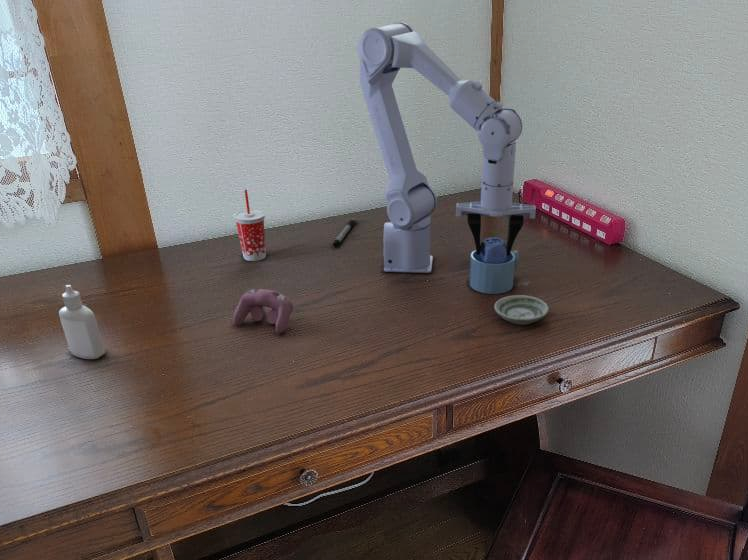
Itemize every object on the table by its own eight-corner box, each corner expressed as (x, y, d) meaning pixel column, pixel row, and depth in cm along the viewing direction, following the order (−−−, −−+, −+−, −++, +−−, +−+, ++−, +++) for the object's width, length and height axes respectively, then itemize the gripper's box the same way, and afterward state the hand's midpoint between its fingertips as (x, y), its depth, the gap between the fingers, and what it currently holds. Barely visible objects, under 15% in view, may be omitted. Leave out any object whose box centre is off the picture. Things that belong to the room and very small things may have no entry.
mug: (492, 298, 138) (493, 268, 135) (460, 283, 143) (461, 254, 140) (531, 281, 145) (534, 252, 141) (500, 268, 150) (502, 240, 146)
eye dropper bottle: (80, 365, 116) (59, 296, 109) (68, 351, 119) (47, 283, 112) (108, 356, 118) (89, 288, 111) (95, 342, 122) (76, 276, 115)
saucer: (517, 301, 137) (518, 289, 136) (558, 319, 132) (559, 307, 130) (482, 317, 132) (483, 305, 130) (523, 336, 126) (524, 324, 125)
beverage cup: (276, 255, 153) (268, 188, 145) (254, 264, 149) (245, 197, 141) (254, 248, 156) (245, 183, 148) (233, 258, 151) (222, 191, 144)
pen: (332, 247, 157) (331, 241, 156) (352, 220, 170) (351, 215, 170) (338, 248, 157) (337, 242, 156) (357, 221, 170) (357, 215, 170)
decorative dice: (506, 264, 139) (507, 244, 137) (486, 266, 138) (487, 246, 136) (498, 256, 142) (500, 236, 140) (479, 258, 141) (480, 238, 139)
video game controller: (293, 334, 128) (298, 294, 127) (280, 334, 124) (285, 293, 123) (244, 324, 131) (248, 285, 130) (229, 324, 127) (234, 284, 125)
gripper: (456, 187, 129) (454, 260, 136) (539, 190, 128) (532, 262, 136) (457, 175, 134) (455, 245, 142) (536, 177, 134) (530, 247, 142)
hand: (493, 253), depth 140 cm, fingers closed on decorative dice, 5 cm apart
